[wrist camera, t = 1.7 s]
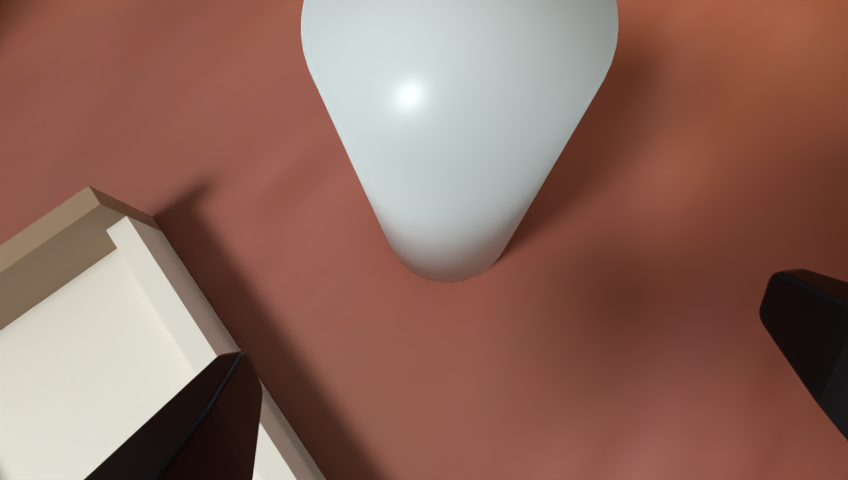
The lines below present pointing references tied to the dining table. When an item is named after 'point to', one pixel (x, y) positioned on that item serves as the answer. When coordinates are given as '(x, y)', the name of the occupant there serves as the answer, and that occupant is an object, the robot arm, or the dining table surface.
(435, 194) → the white rounded wedge
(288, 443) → the drawer
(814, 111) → the dining table surface
